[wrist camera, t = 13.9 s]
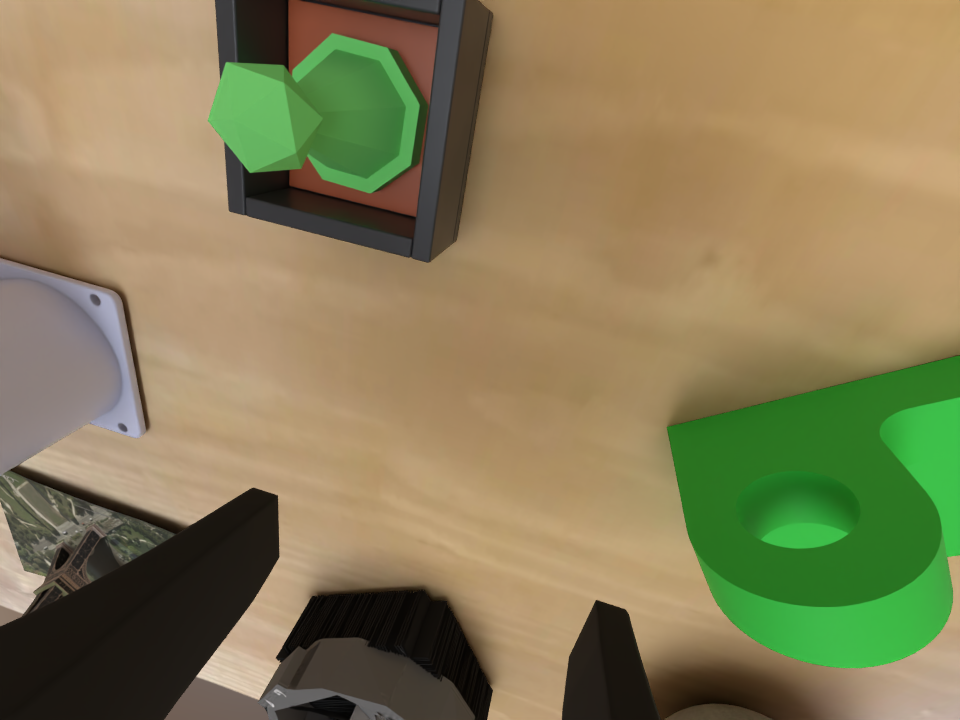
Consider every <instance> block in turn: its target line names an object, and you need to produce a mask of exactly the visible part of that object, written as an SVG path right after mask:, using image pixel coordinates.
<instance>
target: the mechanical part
mask: <svg viewBox="0 0 960 720" xmlns="http://www.w3.org/2000/svg"><path fill="white" fill-rule="evenodd" d="M667 430H668V435H669V440H670V445H671V450H672V456H673V461H674V466H675V471H676V476H677V481H678V486H679V491H680V496H681V501H682V507H683V512H684V517H685V522H686V527H687V531H688V535H689V538H690V541H691V543H692V546H693V548H694V551H695V553H696V556H697V558H698V561H699V563H700V566H701V568H702V571H703V573H704V576H705V578H706V581H707V583H708V586H709V588H710V591H711V593H712V595H713V597H714V599H715V601H716V603H717V604H718V606H719V607H720V609H721V610H722V611H723V613H724V614H725V615H726V616H727V617H728V618H729V620H730V621H731V622H732V623H733V624H735V625H736V626H737V627H738V628H739V629H740V630H741V631H743V632H744V633H745V634H747V635H748V636H749V637H751V638H752V639H754V640H755V641H757V642H758V643H760V644H762V645H764V646H766V647H768V648H769V649H771V650H773V651H776V652H778V653H780V654H783V655H785V656H788V657H791V658H794V659H797V660H800V661H804V662H808V663H812V664H816V665H822V666H828V667H838V668H865V667H874V666H879V665H883V664H888V663H891V662H894V661H897V660H900V659H903V658H905V657H907V656H910V655H912V654H914V653H916V652H917V651H919V650H920V649H922V648H924V647H925V646H926V645H927V644H929V643H930V642H931V641H932V640H933V639H934V638H935V637H936V636H937V635H938V634H939V633H940V631H941V630H942V629H943V627H944V625H945V624H946V622H947V620H948V618H949V615H950V612H951V608H952V603H953V588H952V582H951V577H950V571H949V565H948V560H947V557H950V556H958V555H960V355H959V356H955V357H951V358H947V359H943V360H939V361H935V362H930V363H926V364H922V365H918V366H914V367H910V368H906V369H902V370H898V371H894V372H890V373H886V374H881V375H877V376H873V377H869V378H865V379H861V380H857V381H853V382H849V383H845V384H841V385H837V386H832V387H828V388H824V389H820V390H816V391H812V392H808V393H804V394H800V395H796V396H792V397H788V398H783V399H779V400H775V401H771V402H767V403H763V404H759V405H755V406H751V407H747V408H743V409H739V410H734V411H730V412H726V413H722V414H718V415H714V416H710V417H706V418H702V419H698V420H694V421H690V422H685V423H681V424H677V425H673V426H669V427H667Z"/></svg>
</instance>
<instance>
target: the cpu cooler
mask: <svg viewBox="0 0 960 720" xmlns="http://www.w3.org/2000/svg"><path fill="white" fill-rule="evenodd" d="M448 606H449V605H447V601H431V600H430V598H429V597H428V595H427V593H426V592H425V590H424V591H423V590H421V591H420V590H419V591H414V593H413V591H411V593H410V591H409V592H408V590H407V591H404V592H403V591H399V592H398V591H397V593H396V591H394V592H393V591H392V592H391V591H389V592H382V593H381V592H378V594H377V593H375V594H374V592H373V593H371V594H370V593H365V595H364V593H363V594H362V593H361V594H358V593H357V595H356V594H355V593H354V594H347V595H344V594H343V596H342V594H341V596H340V594H338V595H337V594H336V595H329V596H326V595H325V596H324V595H323V596H322V595H321V597H320V595H319V596H318V597H317V596H312V598H311V599H310V601H309V603H308V604H307V606H306V608H305V609H304V611H303V613H302V614H301V616H300V618H299V620H298V621H297V623H296V625H295V626H294V628H293V630H292V631H291V633H290V635H289V636H288V638H287V640H286V641H285V643H284V645H283V647H282V649H281V650H280V652H279V654H278V655H277V657H276V659H277V660H278V661H279V660H280V662H282V663H281V664H280V665H279V667H278V669H277V670H276V672H275V674H274V675H273V677H272V679H271V681H270V682H269V684H268V686H267V687H266V689H265V691H264V693H263V694H262V696H261V698H260V700H259V701H258V704H260V705H261V706H263V707H264V708H265V709H266V711H267V713H268V716H269V720H487V717H488V712H489V707H490V702H491V697H492V692H493V690H492V688H491V686H490V685H489V684H488V682H487V678H486V676H484V673H482V669H481V668H480V666H479V664H478V662H477V659H476V657H475V656H474V655H473V654H474V653H473V651H472V649H470V648H471V647H470V646H468V644H467V641H466V638H465V637H464V634H463V632H462V631H461V628H460V626H459V624H458V622H457V621H456V618H455V617H454V615H453V613H452V611H450V610H451V609H450V607H449V608H448Z"/></svg>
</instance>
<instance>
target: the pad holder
mask: <svg viewBox="0 0 960 720" xmlns="http://www.w3.org/2000/svg"><path fill="white" fill-rule="evenodd" d="M215 7H216V22H217V37H218V53H219V68H220V80H221V76H222V73H223V70H224V67H225V64H226V62H234V63H253V64H271V65H284V66H285V68H286V69H287V70H288V72H289V73H290V74H291V76H292V71H293V69H294V68H295V67H296V66H297V65H298V64H300V63H301V62H302V61H303V60H304V59H305V58H306V57H307V56H308V55H309V54H310V53H311V52H312V51H314V50H315V49H316V48H317V47H318V46H319V45H320V44H321V43H322V42H323V41H324V40H325V39H326V38H328V37H329V36H330V35H331V34H332V33H334V34H338V35H341V36H345V37H349V38H353V39H357V40H360V41H364V42H368V43H372V44H375V45H379V46H383V47H387V48H390V49H393V50H396V51H398V53H399V54H400V56H401V58H402V60H403V61H404V63H405V65H406V67H407V69H408V70H409V72H410V74H411V76H412V77H413V79H414V81H415V83H416V85H417V86H418V88H419V90H420V92H421V93H422V95H423V97H424V99H425V101H426V102H427V104H428V111H427V117H426V123H425V130H424V136H423V142H422V149H421V155H420V161H419V164H417V165H416V166H414V167H413V168H411V169H410V170H409V171H407V172H406V173H404V174H403V175H401V176H400V177H399V178H397V179H396V180H394V181H393V182H391V183H390V184H389V185H387V186H386V187H384V188H383V189H382V190H380V191H377V192H374V193H371V194H370V193H367V192H363V191H360V190H357V189H353V188H350V187H346V186H343V185H340V184H336V183H333V182H329V181H326V180H323V179H322V178H321V176H320V175H319V173H318V172H317V170H316V169H315V167H314V166H313V164H312V163H311V161H310V160H309V158H308V157H306V159H305V162H304V164H303V166H302V168H301V169H293V170H280V171H267V172H254V173H250V172H249V171H248V170H247V169H246V167H245V166H244V165H243V164H242V162H241V161H240V160H239V159H238V157H237V156H236V155H235V154H234V153H233V151H232V150H231V149H230V148H229V146H228V145H227V144H226V143H225V141H224V144H225V160H226V175H227V190H228V205H229V211H230V212H233V213H237V214H241V215H247V216H249V217H253V218H256V219H260V220H264V221H268V222H272V223H276V224H280V225H284V226H288V227H291V228H295V229H299V230H303V231H307V232H311V233H315V234H319V235H323V236H326V237H330V238H334V239H338V240H342V241H346V242H350V243H354V244H358V245H361V246H365V247H369V248H373V249H377V250H381V251H385V252H389V253H393V254H396V255H400V256H404V257H408V258H410V257H412V258H413V259H416V260H420V261H424V262H427V263H428V262H431V261H432V260H433V259H434V258H435V257H437V256H438V255H439V254H440V253H442V252H443V251H444V250H445V249H446V248H448V247H449V246H450V245H451V244H452V243H454V242H455V241H456V240H457V234H458V228H459V222H460V215H461V209H462V203H463V197H464V191H465V185H466V178H467V172H468V166H469V160H470V154H471V148H472V141H473V135H474V129H475V123H476V117H477V111H478V104H479V98H480V92H481V86H482V80H483V74H484V67H485V61H486V55H487V49H488V43H489V37H490V30H491V24H492V18H493V13H492V12H491V11H490V10H488V9H487V8H486V7H485V6H484V5H483V4H482V3H481V2H480V1H478V0H215Z"/></svg>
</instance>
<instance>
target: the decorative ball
mask: <svg viewBox="0 0 960 720" xmlns="http://www.w3.org/2000/svg"><path fill="white" fill-rule="evenodd" d="M664 720H773V719H771V718H769V717H766V716H764V715H762V714H760V713H757V712H755V711H752V710H749V709H746V708H743V707H739V706H733V705H727V704H703V705H697V706H692V707H689V708H686V709H683V710H680V711H678V712H676V713H674V714H672V715H671V716H669V717H667V718H666V719H664Z"/></svg>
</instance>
